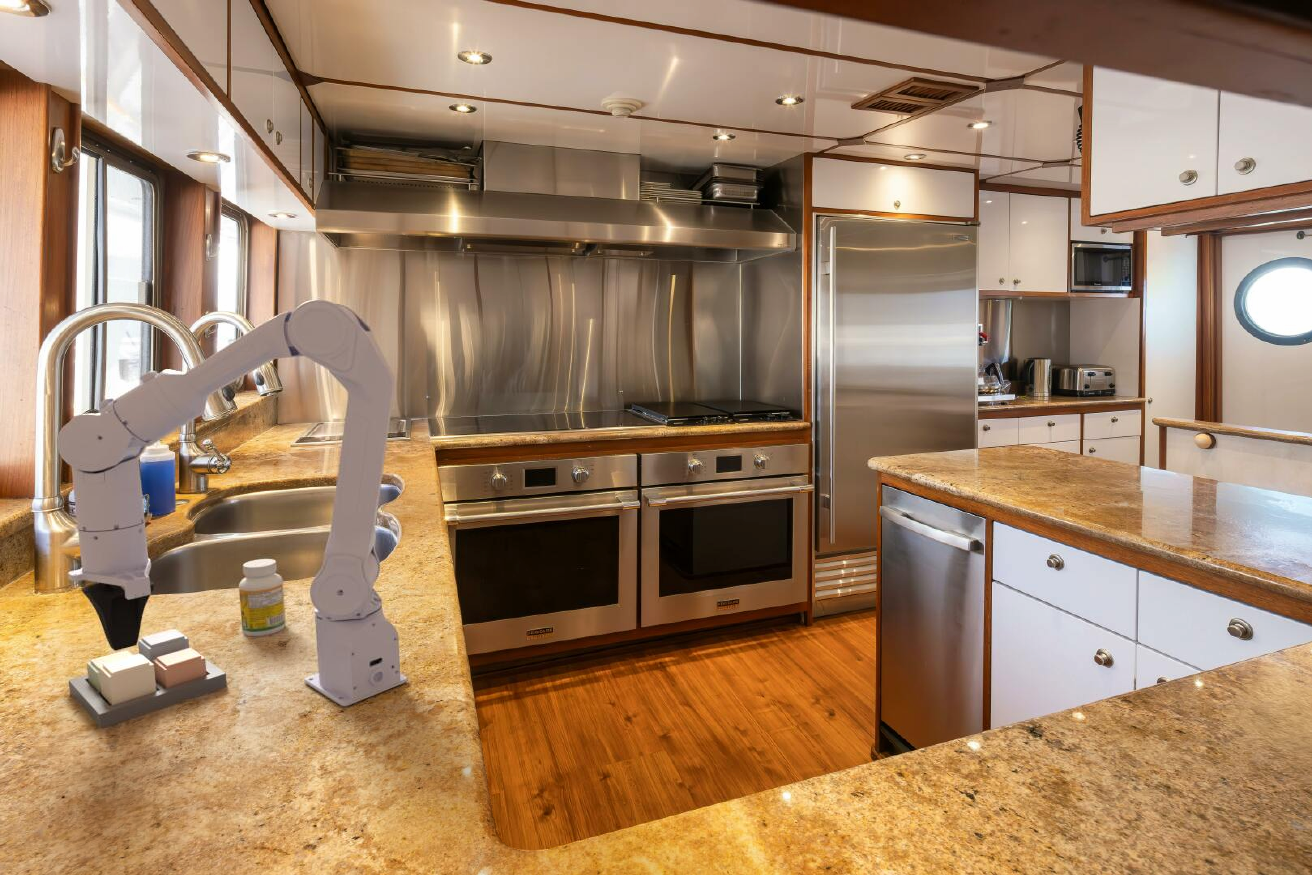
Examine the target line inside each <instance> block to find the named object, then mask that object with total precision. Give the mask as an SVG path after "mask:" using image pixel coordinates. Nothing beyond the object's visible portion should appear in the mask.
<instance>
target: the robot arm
mask: <svg viewBox="0 0 1312 875" xmlns="http://www.w3.org/2000/svg"><path fill="white" fill-rule="evenodd" d="M295 357H297V358H299V357H306V358H307V359H309V360H311V361H312V362H314V363H316V364H317V365H320V366H321V367H323V368H325V369H326V370H328V371H329V374H331V375H332V376H333V377H334V378H335V379H336V381H337V382H338V383H339V384H340V385H341V386H342V387H343V388H344V389H345V391H346V392H347V394H348V395H347V400H346V401H347V402H346V410H345V418H344V425H343V432H342V442H341V449H340V454H339V455H340V457H339V463H338V471H337V479H336V487H335V494H334V501H333V509H332V518H331V526H330V531H329V535H328V539H327V542H326V546H325V549H324V554H323V561H322V565H321V568H320V569H319V571H318V572H317V574H315V577H313V579H312V582H311V584H310V588H309V595H310V596H309V597H310V601H311V603H312V605H313V607H314V621H315V622H314V623H315V638H316V652H317V653H316V654H317V667H318V668H317V670H318V671H317V672H318V673H315V674H312V675H308V676H307V677H306V676H305V678H303V679H304V683H306V684H307V685H309V686H310V687H311V688H313V689H314V690H316V691H317V692H319V693H320V694H323V695H324V696H326V697H327V698H329V699H330V700H331V701H333V702H335V703H336V704H338V705H340V706H341V707H348V706H351V705H352V704H355V703H358V702H360V701H362V700H365V699H368V698H370V697H372V696H376V695H378V694H381V693H383V692H384V691H385V692H386V691H388V690H390V689H392V688H395V687H397V686H399V685H403V684H405V683H407V682H408V677H407V675H404V674H402V673H401V664H400V663H401V662H400V661H401V660H400V659H401V658H400V642H399V638H400V637H399V633H398V630H397V629H396V627H395V626H394V625H393V624H392V623H391V621H388V619H387V617H386V616H385V614H384V610H383V605H382V604H383V602H382V600H383V599H382V597H381V596H379V593H378V592H377V591H376V589H375V588H374V585H375V582H377V579H378V578H379V575H380V572H381V563H380V558H379V557H378V554H377V553H376V552H377V551H376V538H377V531H376V524H377V517H378V510H379V504H380V503H379V502H380V494H381V487H382V479H383V472H384V466H385V458H386V450H387V443H388V435H389V430H390V429H389V428H390V422H391V415H392V414H391V413H392V407H393V399H394V394H395V393H394V392H395V386H396V384H395V383H396V382H395V375H394V373H393V371H392V369H391V367H390V365H389V363H388V361H387V360H386V358H385V355H384V354H383V351H382V350H381V348H380V346H379V344H378V342H377V339H376V338H375V335H374V332H373V330H372V328H371V326H370V325H368V324H367V322H365V321H364V320H363V319H362V318H361V317H360V316H359V315H358V314H357V313H356V312H355V311H354V310H353V309H351V308H349V307H347V306H346V305H343V304H339V303H335V302H331V301H328V300H324V299H312V300H309V301H305V302H303V303H302V304H300V305H299V306H297V307H296V308H295V309H294V310H293V311H290V310H288V311H284V312H282V313H279V314H277V315H275V316H274V317H272V318H270V319H268V320H266V321H265V322H262V323H261V324H259V325H257V326H256V327H254V328H253V329H251V330H250V331H248V332H246V333H245V334H243V335H242V336H240V337H239V338H237V339H235V340H233V341H232V342H231V343H229V344H228V345H226V346H225V347H223V348H222V349H220V350H218V351H217V352H215V353H214V354H212V355H211V356H209V357H208V358H206V359H205V360H203V361H201V362H200V363H199V364H197V365H195V366H194V367H192V368H191V369H189V370H187V371H186V372H183V371H178V370H174V369H164V370H162V371H161V372H159V373H158V371H155V370H152V371H148V372H146V373H145V374H143V375H141V376H139V379H140V380H141V382H142V383H141V384H139V385H137V386H135V387H134V388H131V389H130V390H128V391H127V392H125V393H124V394H122V395H120V396H119V397H116V398H115V399H113V398H112V397H109V398H105V399H103V400H101V401H100V402H99V403H98V406H99V407H100V409H99V412H97V413H84V414H78V415H75V416H73V417H72V418H71V420H70V421H69V422H67V423H66V424H65V425H63V427H61V429H60V431H59V433H58V435H57V440H56V447H57V452H58V454H59V456H60V458H62V460H63V461H65V463H66V464H67V465H69V466H70V467H71V475H72V483H73V484H72V486H73V497H74V504H75V515H76V516H75V517H76V526H77V534H78V543H79V551H80V552H79V553H80V561H81V567H80V569H77V570H76V569H74V570H71V571H68V572H67V578H68V580H70V581H71V582H80V581H81V582H82V581H89V582H95V583H93V584H87V585H84V586H83V587H82V588H81V592H82V593H83V594H84V595H85V597H86V598H87V599H88V601H89V602H90V603H91V605H92V607H93V609H94V610H95V612H96V614H97V616H98V619H99V622H100V623H101V627H102V628H103V632H104V635H105V637H106V639H107V640H106V641H107V643H108V645H109V646H110V648H111V649H112V650H113V651H114V652H115V651H116V652H117V651H120V650H124V649H127V648H131V647H135V646H137V645H138V640H139V638H140V631H141V626H142V620H143V615H144V612H145V609H146V608H145V607H146V605H147V603H148V600H149V598H150V597H151V595H152V593H153V591H154V588H155V583H154V582H153V581H152V580H150V576H149V574H150V572H151V568H152V562H151V559H150V558H149V552H148V543H147V533H146V532H147V530H146V522H145V521H146V520H145V511H144V510H145V509H144V499H143V489H142V480H141V472H140V463H139V462H140V461H139V459H140V457H141V456H142V454H143V453H144V452H145V451H146V448H147V447H151V446H153V445H154V444H155V443H157V442H160V440H162V439H163V438H164V439H165V437H167V436H169V435H171V434H172V433H174V432H176V431H177V430H180V429H181V428H182V427H184V426H185V425H187V424H189V423H190V422H192V421H193V420H195V419H197V418H199V417H201V416H202V415H204V413H205V411H206V404H207V400H208V398H209V396H210V395H212V394H214V393H216V392H217V391H219V390H221V389H223V388H225V387H227V386H228V385H230V384H232V383H234V382H235V381H237V380H239V379H241V378H243V377H245V376H246V375H249V373H252V372H254V371H255V370H257V369H259V368H261V367H263V366H265V365H266V364H268V363H270V362H271V361H273V360H276V359H286V358H287V359H288V358H295Z"/></svg>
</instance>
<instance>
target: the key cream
mask: <svg viewBox="0 0 1312 875" xmlns="http://www.w3.org/2000/svg"><path fill="white" fill-rule="evenodd" d="M99 675H100V684H101V694H102V695H103V696H104V697H105V698H106V700H107V701H108V702H109V703H108V704H109V705H110V706H112V705H115V704H119V703H122V702H125V701H128V700H131V699H134V698H137V697H140V696H143V695H147V694H150V693H153V692H156V682H155V671H154V664H153V663H151V662H150V661H149V660H148V659H147V658H145V657H144V656H143V655H140V654H139V653H136V654H133V655H132V656H129V657H125V658H122V659H118V660H115V661H111V662H108V663H104V664H103V666H99Z"/></svg>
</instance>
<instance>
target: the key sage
mask: <svg viewBox="0 0 1312 875" xmlns="http://www.w3.org/2000/svg"><path fill="white" fill-rule="evenodd" d="M132 655H134V653H132V652H130V650H127V649H126V650H122V651H118V652H114V653H111V654H106V655H103V656H100V657H96V658H93V659H90V661H87V662H86V670H87V674H88V679H89V685H90V686H91V687H92V688H93V689H94V690H95V691H96V692H97V691H100V690H101V684H100V675H99V666H103V664H104V663H108V662H111V661H115V660H118V659H122V658H125V657H129V656H132Z"/></svg>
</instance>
